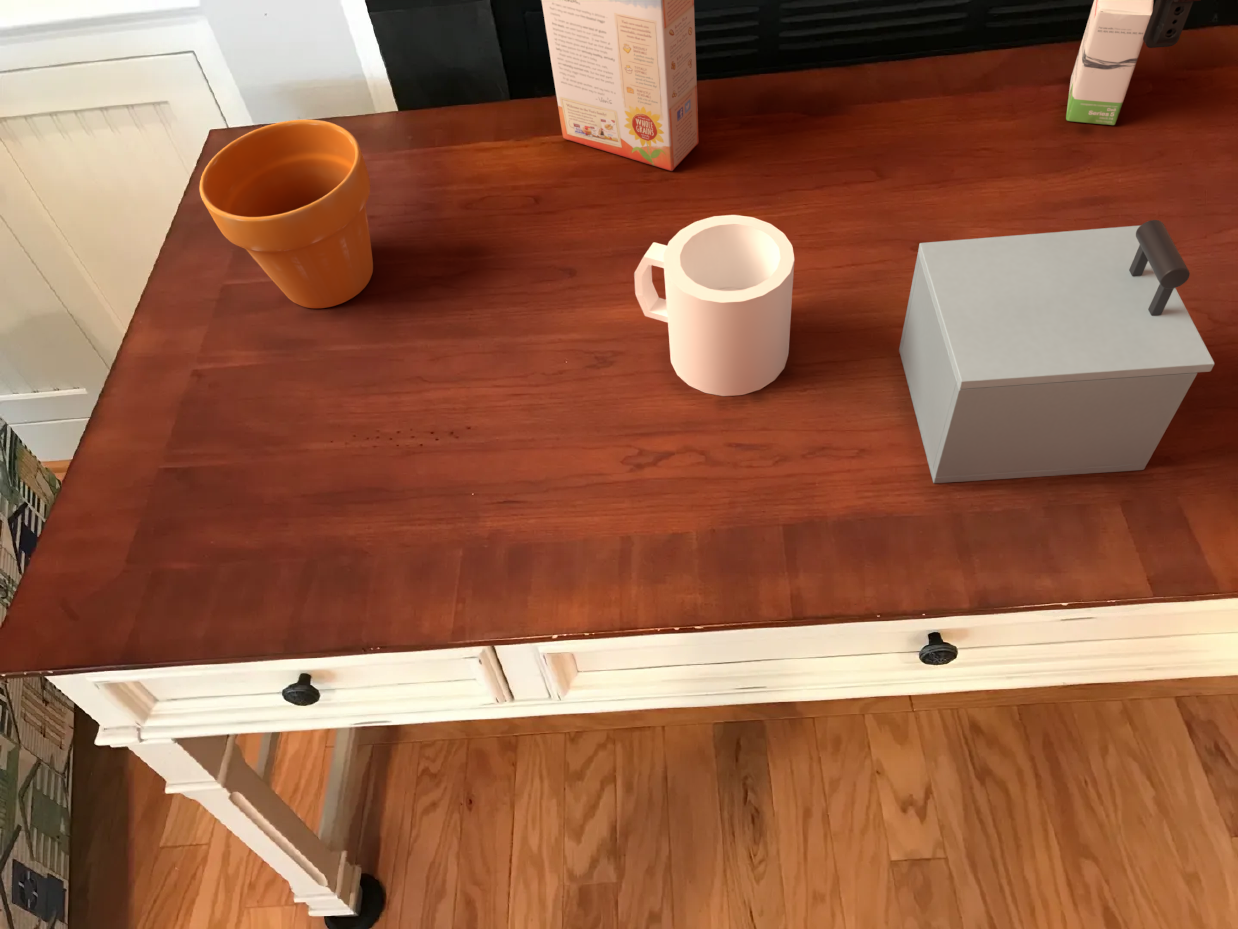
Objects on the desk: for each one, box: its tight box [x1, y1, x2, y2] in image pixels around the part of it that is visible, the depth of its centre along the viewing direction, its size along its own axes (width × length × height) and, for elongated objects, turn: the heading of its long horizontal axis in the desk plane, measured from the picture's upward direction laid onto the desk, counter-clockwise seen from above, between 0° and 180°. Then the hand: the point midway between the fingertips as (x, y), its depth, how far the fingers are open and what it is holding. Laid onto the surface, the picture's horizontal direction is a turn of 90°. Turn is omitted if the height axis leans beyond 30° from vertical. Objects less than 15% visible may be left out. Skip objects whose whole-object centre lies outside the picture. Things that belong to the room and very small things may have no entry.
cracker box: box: [541, 0, 700, 172], centre depth 96 cm, size 14×6×21 cm, turn 57°
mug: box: [633, 214, 795, 397], centre depth 81 cm, size 14×10×11 cm
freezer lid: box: [917, 219, 1215, 389], centre depth 68 cm, size 16×14×5 cm
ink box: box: [1065, 0, 1154, 126], centre depth 97 cm, size 9×5×12 cm, turn 160°
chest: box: [898, 252, 1198, 484], centre depth 74 cm, size 16×14×11 cm
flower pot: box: [198, 119, 374, 309], centre depth 91 cm, size 14×14×13 cm
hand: (1139, 13), depth 73 cm, fingers open, 8 cm apart
